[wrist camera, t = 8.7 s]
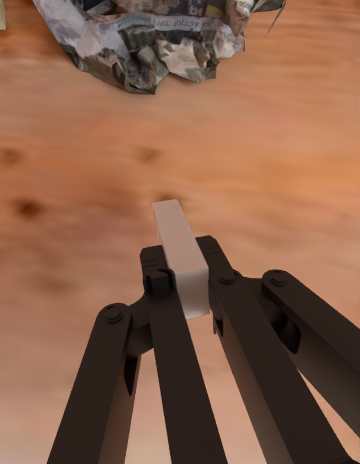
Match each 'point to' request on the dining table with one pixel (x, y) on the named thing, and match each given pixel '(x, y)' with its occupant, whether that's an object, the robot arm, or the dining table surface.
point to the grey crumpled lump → (150, 36)
